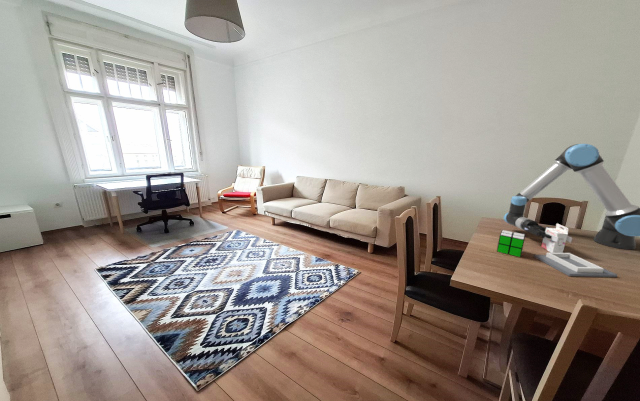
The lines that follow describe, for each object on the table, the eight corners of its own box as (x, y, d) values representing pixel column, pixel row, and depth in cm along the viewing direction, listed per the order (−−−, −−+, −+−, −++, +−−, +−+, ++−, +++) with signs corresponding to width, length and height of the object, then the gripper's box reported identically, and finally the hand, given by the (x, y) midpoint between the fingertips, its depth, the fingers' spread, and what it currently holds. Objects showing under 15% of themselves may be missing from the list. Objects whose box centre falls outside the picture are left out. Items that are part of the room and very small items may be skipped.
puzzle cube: (521, 251, 125) (525, 234, 122) (520, 257, 117) (524, 239, 115) (498, 246, 131) (501, 229, 129) (496, 251, 124) (499, 234, 122)
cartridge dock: (573, 257, 117) (575, 251, 116) (616, 277, 100) (618, 270, 99) (533, 256, 118) (535, 251, 117) (569, 276, 101) (570, 269, 100)
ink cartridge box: (540, 246, 130) (546, 222, 126) (550, 247, 129) (557, 223, 125) (552, 253, 122) (559, 227, 118) (562, 254, 121) (570, 228, 117)
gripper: (541, 230, 141) (581, 246, 119) (510, 230, 142) (544, 246, 119) (544, 219, 139) (585, 233, 117) (512, 218, 140) (547, 232, 118)
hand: (564, 239), depth 118 cm, fingers closed on ink cartridge box, 6 cm apart
